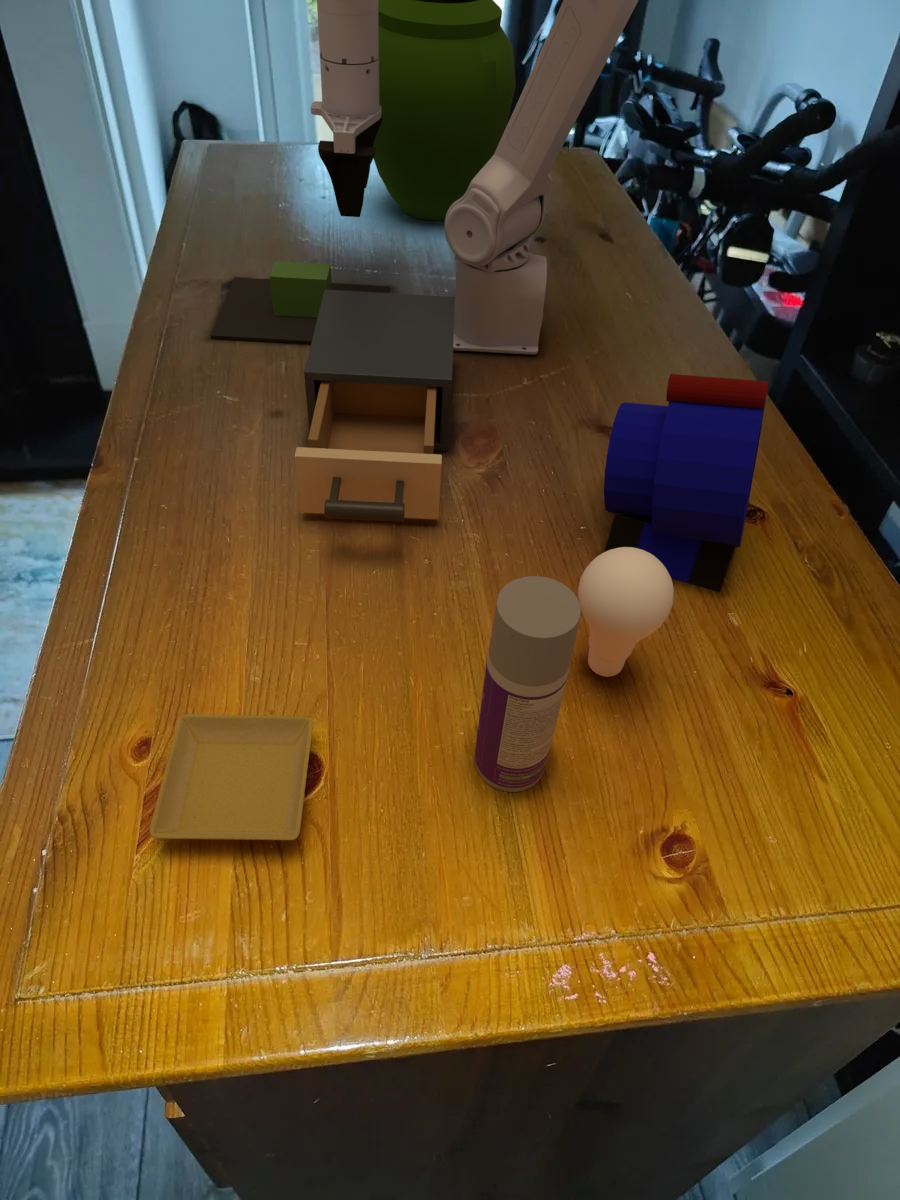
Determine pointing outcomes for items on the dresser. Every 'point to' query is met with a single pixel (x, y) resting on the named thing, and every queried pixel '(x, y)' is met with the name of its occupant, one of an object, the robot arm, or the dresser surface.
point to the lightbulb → (622, 604)
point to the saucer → (234, 778)
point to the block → (299, 288)
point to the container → (525, 680)
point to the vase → (440, 98)
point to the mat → (267, 314)
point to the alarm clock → (686, 474)
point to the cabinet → (384, 346)
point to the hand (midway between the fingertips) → (354, 200)
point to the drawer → (371, 453)
